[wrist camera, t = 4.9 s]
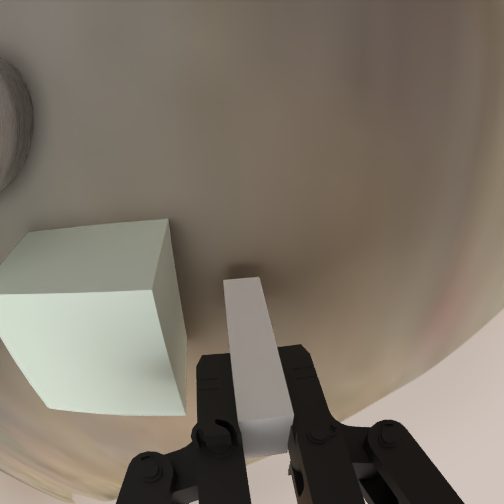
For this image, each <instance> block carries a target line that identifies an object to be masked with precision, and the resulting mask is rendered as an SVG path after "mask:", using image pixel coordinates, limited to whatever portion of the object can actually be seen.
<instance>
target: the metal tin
mask: <svg viewBox="0 0 504 504" xmlns="http://www.w3.org/2000/svg"><path fill="white" fill-rule="evenodd" d="M32 134H33V108H32V102H31V97H30V94H29V90H28V88H27V85H26V83H25V81H24V79H23V77H22V76H21V74H20V73H19V72H18V70H17V69H16V68H15V67H14V66H12V65H11V64H10V63H8V62H7V61H4V60H2V59H0V190H2V189H3V188H4V187H6V186H7V185H8V184H10V183H11V182H12V181H13V180H14V178H15V177H16V176H17V175H18V173H19V172H20V170H21V168H22V167H23V165H24V163H25V160H26V158H27V156H28V152H29V149H30V145H31V140H32Z"/></svg>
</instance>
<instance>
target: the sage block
mask: <svg viewBox="0 0 504 504" xmlns="http://www.w3.org/2000/svg"><path fill="white" fill-rule="evenodd" d="M0 337H1V339H2V341H3V342H4V344H5V346H6V347H7V349H8V351H9V352H10V354H11V356H12V357H13V359H14V360H15V362H16V363H17V365H18V366H19V368H20V369H21V371H22V372H23V374H24V375H25V377H26V378H27V380H28V381H29V383H30V384H31V385H32V387H33V388H34V390H35V391H36V392H37V394H38V395H39V396H40V398H41V399H42V400H43V402H44V403H45V404H46V406H47V407H48V408H51V409H58V410H66V411H75V412H86V413H98V414H112V415H135V416H186V372H187V334H186V329H185V323H184V318H183V312H182V307H181V301H180V295H179V289H178V282H177V276H176V270H175V263H174V256H173V249H172V242H171V234H170V227H169V219H157V220H145V221H133V222H121V223H110V224H99V225H89V226H79V227H69V228H59V229H50V230H41V231H33V232H28V233H27V234H26V236H25V237H24V238H23V239H22V240H21V241H20V242H19V243H18V245H17V246H16V247H15V248H14V249H13V250H12V252H11V253H10V254H9V255H8V256H7V258H6V259H5V260H4V261H3V262H2V264H1V265H0Z"/></svg>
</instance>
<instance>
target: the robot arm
mask: <svg viewBox="0 0 504 504" xmlns="http://www.w3.org/2000/svg"><path fill="white" fill-rule="evenodd" d="M223 285H224V296H225V307H226V318H227V329H228V339H229V348H230V353H225V354H212V355H202V356H201V358H200V360H199V362H198V364H197V366H196V379H197V424H196V425H195V426H194V428H193V429H192V434H191V438H192V442H191V443H190V444H189V445H188V446H186V447H184V448H182V449H180V450H177V451H174V452H171V453H168V454H165V455H162V454H160V453H158V452H149V451H147V452H144V453H140V454H138V455H137V456H136V457H134V458H133V459H132V461H131V463H130V464H129V466H128V469H127V472H126V475H125V478H124V481H123V484H122V487H121V490H120V493H119V496H118V499H117V502H116V504H189V503H190V502H193V501H196V500H199V504H251V498H250V492H249V485H248V478H247V472H246V465H245V458H252V457H261V456H268V455H276V454H282V453H287V451H288V450H289V455H290V459H291V461H290V465H289V469H288V475H292V480H293V484H294V489H295V493H296V498H297V503H298V504H365V501H364V499H365V500H366V502H367V503H368V504H464V502H463V501H462V500H461V499H460V497H459V496H458V495H457V493H456V492H455V491H454V490H453V488H452V487H451V485H450V484H449V483H448V482H447V480H446V479H445V478H444V476H443V475H442V474H441V473H440V471H439V470H438V469H437V467H436V466H435V465H434V464H433V463H432V461H431V460H430V459H429V457H428V456H427V455H426V453H425V452H424V451H423V450H422V448H421V447H420V446H419V444H418V443H417V442H416V441H415V439H414V438H413V437H412V435H411V434H410V433H409V432H408V430H407V429H406V428H405V427H404V426H403V425H402V424H401V423H399V422H397V421H394V420H383V421H379V422H377V423H376V424H375V425H373V426H372V427H353V426H347V425H344V424H342V423H340V422H338V421H337V420H335V419H334V417H333V416H332V415H331V413H330V411H329V409H328V406H327V403H326V400H325V397H324V394H323V391H322V388H321V385H320V382H319V379H318V377H317V373H316V370H315V368H314V364H313V362H312V359H311V356H310V353H309V352H308V351H307V350H306V349H305V348H304V347H303V346H302V345H301V344H299V345H291V346H284V347H277V345H276V341H275V337H274V333H273V329H272V325H271V321H270V317H269V313H268V309H267V305H266V301H265V297H264V293H263V289H262V285H261V281H260V277H251V278H240V279H228V280H223ZM363 497H364V498H363Z"/></svg>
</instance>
